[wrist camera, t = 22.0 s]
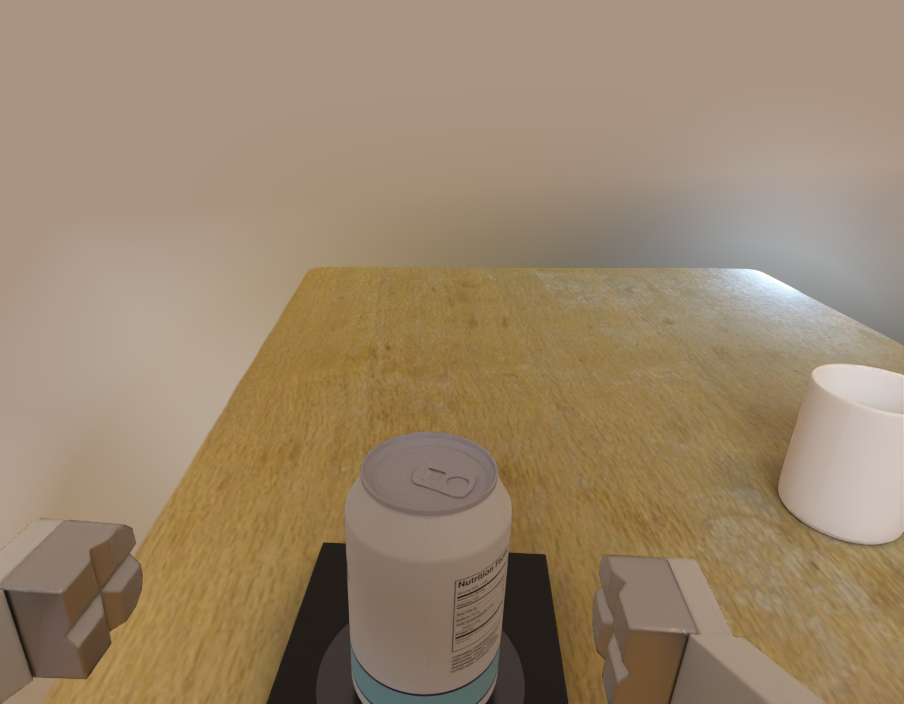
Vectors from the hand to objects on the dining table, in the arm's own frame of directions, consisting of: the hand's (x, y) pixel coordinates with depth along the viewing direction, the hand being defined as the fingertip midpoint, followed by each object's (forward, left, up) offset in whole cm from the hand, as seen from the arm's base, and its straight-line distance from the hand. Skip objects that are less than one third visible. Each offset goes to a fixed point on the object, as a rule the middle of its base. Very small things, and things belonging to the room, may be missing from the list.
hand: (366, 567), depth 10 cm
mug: (+43, -4, -20) cm, 48 cm away
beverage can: (+9, +8, -18) cm, 22 cm away
